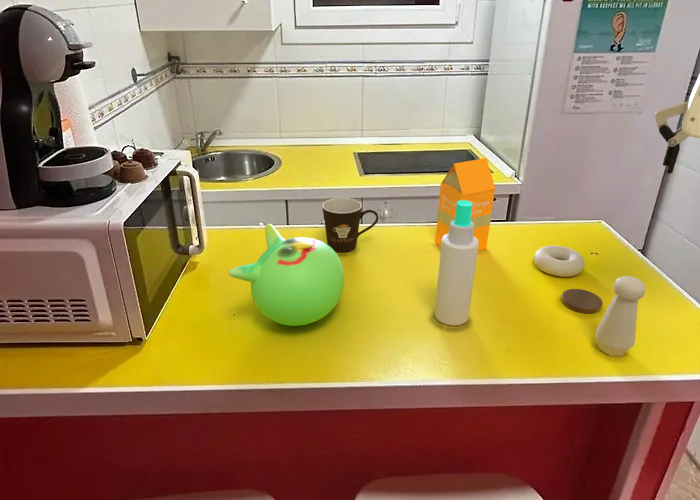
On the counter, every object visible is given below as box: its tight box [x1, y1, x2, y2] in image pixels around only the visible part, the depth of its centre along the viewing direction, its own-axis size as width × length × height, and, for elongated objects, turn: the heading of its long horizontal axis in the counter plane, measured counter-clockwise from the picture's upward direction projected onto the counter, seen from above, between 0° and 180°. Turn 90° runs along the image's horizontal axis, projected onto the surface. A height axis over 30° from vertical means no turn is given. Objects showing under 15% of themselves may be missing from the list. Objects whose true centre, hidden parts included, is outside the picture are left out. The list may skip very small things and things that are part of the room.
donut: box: [533, 245, 586, 278], centre depth 108 cm, size 10×4×10 cm
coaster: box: [560, 288, 604, 315], centre depth 97 cm, size 7×7×1 cm
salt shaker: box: [595, 275, 646, 357], centre depth 82 cm, size 6×6×13 cm
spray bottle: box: [434, 200, 479, 327], centre depth 88 cm, size 6×6×22 cm
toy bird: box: [228, 223, 345, 327], centre depth 90 cm, size 18×17×15 cm
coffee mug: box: [321, 197, 379, 254], centre depth 114 cm, size 12×9×10 cm
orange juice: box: [434, 157, 496, 252], centre depth 113 cm, size 8×9×20 cm
